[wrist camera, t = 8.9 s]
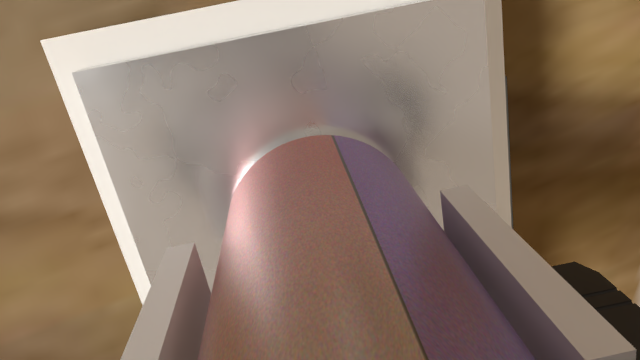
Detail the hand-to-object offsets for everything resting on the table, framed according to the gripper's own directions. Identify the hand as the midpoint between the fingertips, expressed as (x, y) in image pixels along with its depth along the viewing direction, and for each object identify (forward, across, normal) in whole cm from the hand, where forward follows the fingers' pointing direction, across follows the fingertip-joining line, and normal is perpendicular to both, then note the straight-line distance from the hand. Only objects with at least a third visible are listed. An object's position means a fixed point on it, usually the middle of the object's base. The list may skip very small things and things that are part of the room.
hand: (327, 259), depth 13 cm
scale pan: (+4, 0, 0) cm, 4 cm away
